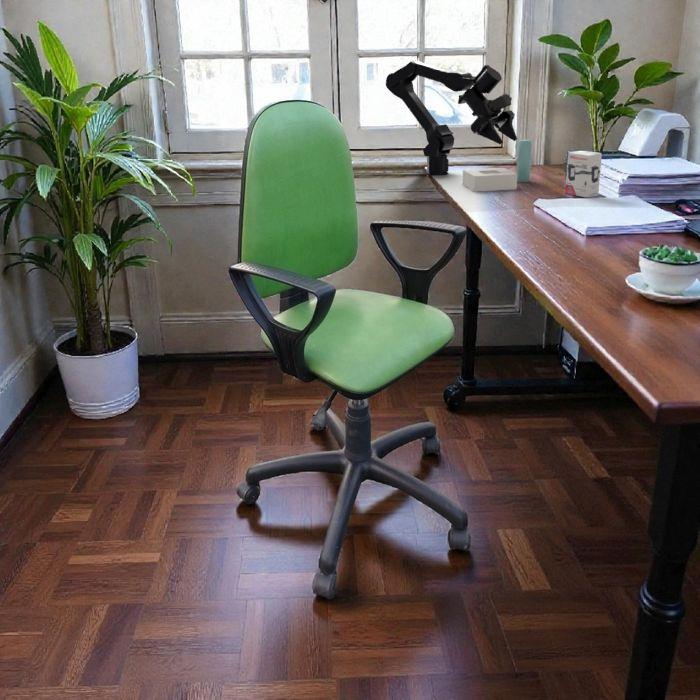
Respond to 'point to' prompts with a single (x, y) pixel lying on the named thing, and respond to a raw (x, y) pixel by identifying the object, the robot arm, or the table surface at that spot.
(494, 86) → the robot arm
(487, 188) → the socket block
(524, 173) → the pin
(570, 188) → the ink box
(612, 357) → the table surface
